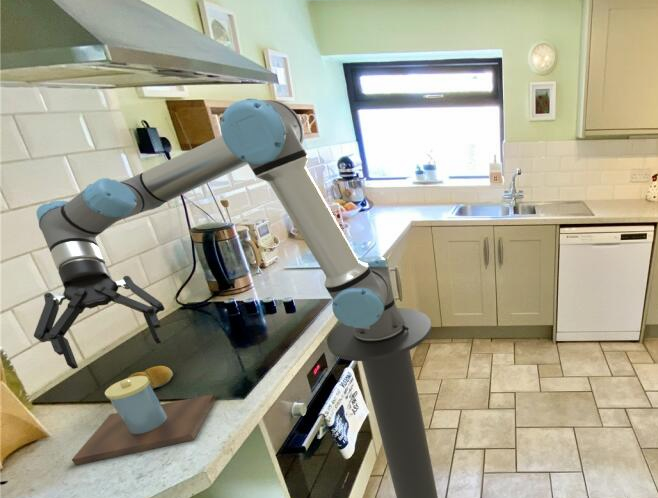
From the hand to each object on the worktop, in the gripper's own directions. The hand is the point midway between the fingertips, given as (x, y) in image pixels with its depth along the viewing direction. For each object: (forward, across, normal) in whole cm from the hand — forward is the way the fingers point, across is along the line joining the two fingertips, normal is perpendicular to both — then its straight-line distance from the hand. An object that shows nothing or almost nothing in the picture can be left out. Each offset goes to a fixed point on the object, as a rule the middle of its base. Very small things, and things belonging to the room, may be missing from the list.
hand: (117, 353), depth 86 cm
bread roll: (+1, -1, -21) cm, 21 cm away
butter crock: (+15, 0, -5) cm, 16 cm away
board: (+16, 0, -6) cm, 17 cm away
